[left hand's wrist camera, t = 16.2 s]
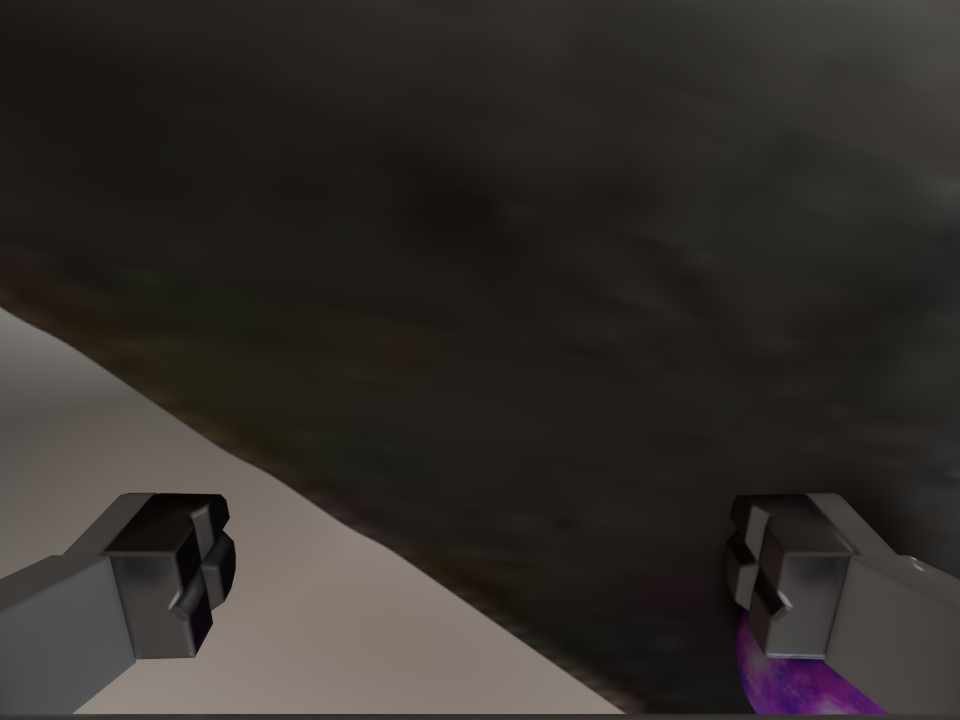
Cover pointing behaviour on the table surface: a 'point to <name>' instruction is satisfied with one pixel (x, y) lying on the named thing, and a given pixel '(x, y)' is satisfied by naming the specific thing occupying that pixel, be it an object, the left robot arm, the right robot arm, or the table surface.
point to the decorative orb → (794, 682)
